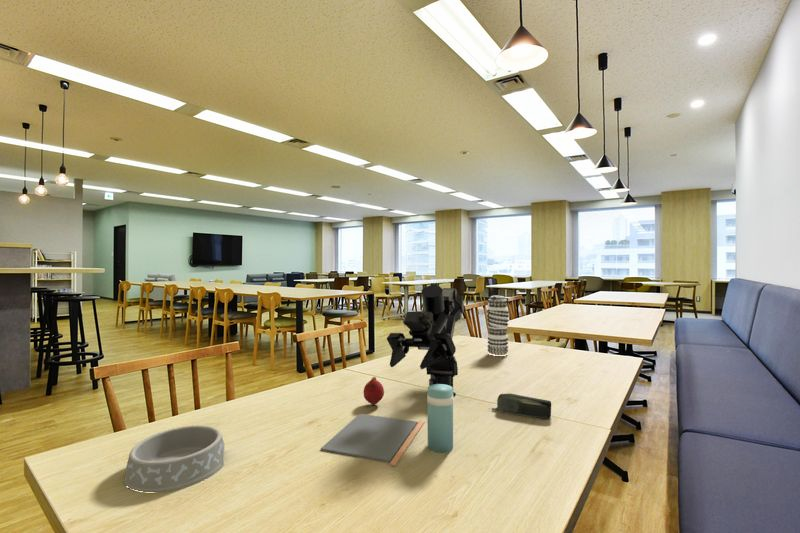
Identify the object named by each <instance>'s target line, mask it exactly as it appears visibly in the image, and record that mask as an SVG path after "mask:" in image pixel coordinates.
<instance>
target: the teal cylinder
mask: <svg viewBox="0 0 800 533" xmlns="http://www.w3.org/2000/svg"><path fill="white" fill-rule="evenodd" d="M453 392H454V386H453V387H451V386H449V385H445V384H434V385H430V386H429V385H428V386H427V393H426V395H427V396H426V399H427V401H426V402H427V448H428V450H430V451H431V452H435V453H439V454H442V453H445V454H446V453H450V452H451V451H452V450H453V449H454V396H453Z"/></svg>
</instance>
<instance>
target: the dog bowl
mask: <svg viewBox="0 0 800 533" xmlns="http://www.w3.org/2000/svg"><path fill="white" fill-rule="evenodd" d="M224 453H225V441H224V439H223V435H222V433H221V430H219V429H218V428H216V427H213V426H209V425H198V424H197V425H185V426H179V427H175V428H171V429H170V428H169V429H166V430H163V431H161V432H157V433H154V434H152V435H151V436H148V437H146V438H144V439H143V440H141V441H140V442H138V443H137V444H136V445H134V446H133V447H132V448H131V450H130V452H129V455H128V458H127V459H128V460H127V462H126V466H125V476H124V484H125V485H126V486H128V487H129V488H131V489H134V490H138V491H143V492H164V493H169V492H168V491H170V492H174V491H173V490H175V491H179V490H183V489H185V488H189V487H192V486H194V485H197V484H199V483H201V481H202V482H203V481H206V480H208V479H210V478H211V477H213V476H214V475H215V474H217V473H218V472H219V471H220V470H222V468H224V466H225V465H224V464H225V463H224V455H225V454H224ZM205 479H206V480H205ZM125 485H124V486H125ZM166 491H167V492H166Z"/></svg>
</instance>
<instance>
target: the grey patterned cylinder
mask: <svg viewBox="0 0 800 533" xmlns="http://www.w3.org/2000/svg"><path fill="white" fill-rule="evenodd" d="M487 300H488V307H487V310H486V313H487V315H486V317H487V321H488V323H487V327H488V337H487V340H488V341H487V344H488V345H487V353H488V352H489V353H491V354H495V355H505V354H507V353H508V352H509V345H508V344H509V342H508V341H509V338H508V333H507V332H508V330H507V329H509V319H507V318H509V315H508V314H509V311H508V306H507V305H508V299H507V298H506V296H505V295H491V296H490V297H489V298H488V299H487Z"/></svg>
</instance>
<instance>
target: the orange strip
mask: <svg viewBox="0 0 800 533" xmlns="http://www.w3.org/2000/svg"><path fill="white" fill-rule="evenodd" d="M424 424H425V420H424V421H423V420H420V421H418V423H417V425H416V426H415V427H414V429H413V430H412V432H411V433H410V434H409V436H408V437H407V439H406V440H405V441H404V443H403V444H402V446H401V447H400V449H399V450H398V451H397V453H396V454H395V456H394V457H393V458H392V460H391V461H390V462H389V466H391V467H396V466H397V465H398V463H399V461H400V460H401V458H402V457H403V455H404V454H405V452H406V451H407V449H409V446H410V445H411V444H412V442H414V439H415V437H416V436H417V435H418V433H419V432H420V431H421V429H422V428H423V426H424Z"/></svg>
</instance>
